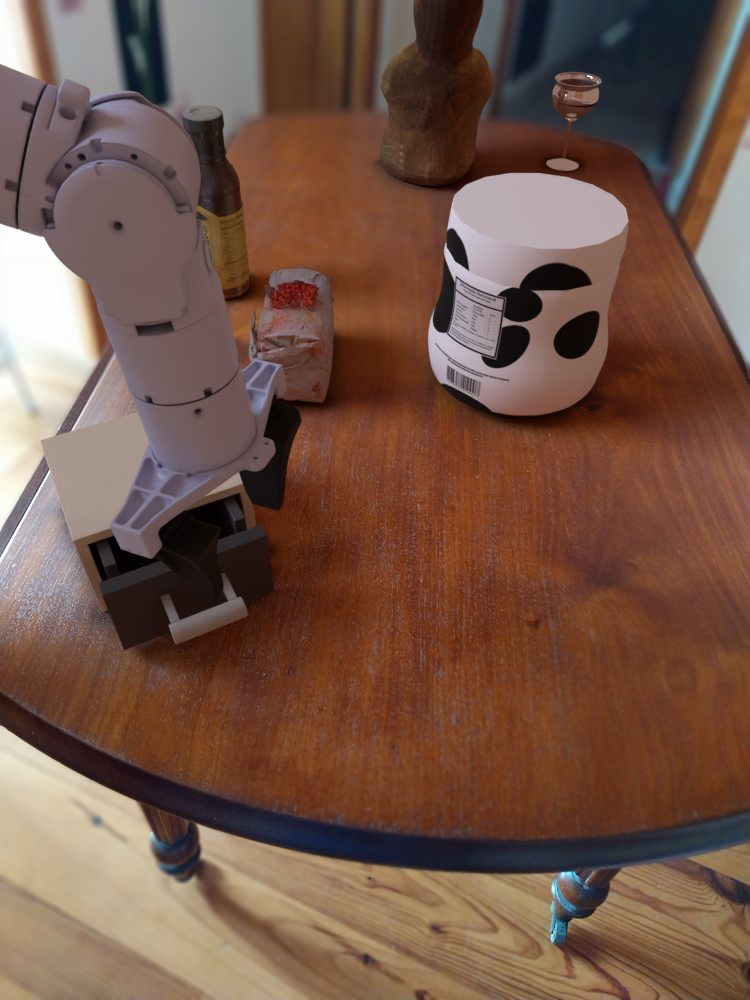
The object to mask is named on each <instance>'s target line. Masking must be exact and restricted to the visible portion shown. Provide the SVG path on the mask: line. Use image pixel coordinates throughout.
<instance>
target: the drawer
mask: <svg viewBox="0 0 750 1000" xmlns="http://www.w3.org/2000/svg"><path fill="white" fill-rule="evenodd" d="M186 512H187V513H189V514H190V513H192V514H193V515H194V518H195V520H197V521H201V522H204V523H207V524H211V525H214V526H217V527H221V531H220V534H219V537H218V543H217V558H218V564H219V568H220V571H221V575H222V579H223V585H224V587H223V592H222V594H221V595H220V597H219V598H218V599H216V600H215V599H212V598H209V597H206V596H203V595H200V594H197V593H194V592H191V591H190V590H189V589H188V587H187V586H186V585H185V584H184V583H183V582H182V580H181V579H180V578H179V577H178V576H177V575H176V574H175V573H174V572H173V571H172V570H171V569H170V568H169V567H167V566H166V565H165V564H164V563H163V562H161V561H160V560H159V559H157V558H156V557H153V558H152V559H150V558H147V557H144V556H140V555H137V554H134V553H131V552H129V551H125V550H122V549H121V548H120V546H119V544H118V542H117V540H116V538H115V536H111V537H108V538H105V539H102V540H99V541H96V542H95V543H96V545H97V548H98V551H99V554H100V557H101V559H102V562H103V565H104V568H105V571H106V573H107V576H108V578H109V579H108V580H105V581H103V582H100V583H98V586H99V588H100V591H101V594H102V597H103V600H104V602H105V604H106V607H107V609H108V611H107V612H108V614H109V617H110V619H111V622H112V624H113V627H114V630H115V631H116V634H117V637H118V639H119V642H120V644H121V646H122V649H123V650H124V651H126V650H130V649H132V648H134V647H137V646H139V645H142V644H144V643H146V642H149V641H152V640H154V639H157V638H160V637H162V636H164V635H167V634H169V633H170V634H171V637H172V640H173V641H174V644H175V645H179V644H181V643H184V642H187V641H189V640H192V639H194V638H197V637H199V636H202V635H205V634H206V633H210V632H212V631H215V630H217V629H220V628H223V627H224V626H227V625H229V624H232V623H234V622H237V621H239V620H241V619H244V618H247V617H248V616H249V611H248V609H247V606H246V604H247V603H248V602H251V601H253V600H256V599H259V598H261V597H264V596H266V595H269V594H271V593H274V592H275V590H276V589H275V583H274V574H273V568H272V560H271V554H270V546H269V545H270V544H269V538H268V537H269V536H268V534H267V532H266V531H265V529H264V527H263V526H262V524H258V525H256V527H253V528H250V529H247V526H246V520H245V517H244V515H243V513H242V511H241V509H240V508H239V506H238V504H237V502H236V500H235V499H234V497H233V495H231V496H228V497H225V498H222V499H219V500H217V501H214V502H211V503H208V504H205V505H202V506H199V507H196V508H193V509H190V510H187V511H186Z"/></svg>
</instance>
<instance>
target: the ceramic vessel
mask: <svg viewBox="0 0 750 1000" xmlns="http://www.w3.org/2000/svg"><path fill="white" fill-rule="evenodd" d="M412 7H413V8H412V9H413V10H412V13H413V15H412V16H413V22H414V23H413V24H414V29H415V40H414V41H413V42H411V43H409V44H407V45H406V46H403V47H401V48H400V49H399V50H398V51H396V52H395V53H394V54H393V55H392V57H390V59H389V61H388V62H387V65H386V67H385V68H384V70H383V73H382V74H381V78H380V90H381V93H382V96H383V98H384V99H385V101H386V104H387V108H388V109H387V110H388V116H387V117H388V118H387V120H386V123H385V127H384V129H383V133H382V138H381V143H380V148H379V149H380V150H379V155H380V156H379V157H380V163H381V165H382V167H383V169H384V171H385V173H387V174H388V175H389V176H392V177H393V178H395V179H398V180H401V181H403V182H407V183H411V184H415V185H420V186H426V187H427V186H428V187H438V186H447V185H451V184H454V183H456V182H457V181H458V182H459V181H460V180H461V179H462V178H463V177H465V176H466V175H467V174H468V173H469V171H470V169H471V166H472V164H473V162H474V160H475V157H476V153H477V138H478V129H479V123H480V118H481V115H482V113H483V110H484V108H485V107H486V105H487V103H488V102H489V101H490V99H491V98H492V97H491V96H492V95H493V92H494V87H495V86H494V85H495V84H494V76H493V72H492V70H491V66H490V64H489V62H488V59H487V58H486V55H485V54H484V53H483V52H482V51H481V50H480V49H479V48H476V47H474V46H473V45H474V38H475V36H476V33H477V30H478V29H479V25H480V22H481V18H482V15H483V10H484V0H413V5H412Z"/></svg>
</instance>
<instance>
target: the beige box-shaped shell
mask: <svg viewBox="0 0 750 1000" xmlns="http://www.w3.org/2000/svg"><path fill="white" fill-rule="evenodd" d="M39 443H40V445H41V448H42V452H43V454H44V457H45V461H46V464H47V467H48V469H49V473H50V475H51V478H52V479H51V480H52V482H53V485H54V488H55V491H56V494H57V497H58V500H59V503H60V504H59V505H60V506H61V510H62V512H63V516H64V519H65V522H66V525H67V527H68V531H69V534H70V537H71V540H72V543H73V545H74V547H75V550H76V552H77V555H78V557H79V560H80V562H81V566H82V567H83V569H84V572H85V575H86V576H87V579H88V582H89V584H90V586H91V589H92V591H93V593H94V596H95V598H96V601H97V603H98V606H99V608H100V610H101V612H102V613H106V612H108V609H107V607H106V604H105V602H104V600H103V597H102V594H101V591H100V588H99V586H98V583H100V582H103V581H105V580H108V579H109V578H108V576H107V573H106V571H105V568H104V565H103V562H102V559H101V557H100V554H99V551H98V548H97V545H96V543H95V542H96V541H99V540H102V539H105V538H108V537H111V536H114V534H113V532H112V530H111V528H110V526H109V524H110V523H111V521H112V520H113V519H114V518H115V516H116V515H117V514H118V512H119V511H120V509H121V508H122V506H123V504H124V502H125V500H126V498H127V496H128V493H129V491H130V488H131V486H132V483H133V481H134V478H135V476H136V473H137V471H138V468H139V466H140V463H141V461H142V458H143V456H144V453H145V451H146V448H147V446H148V443H149V441H148V438H147V436H146V433H145V430H144V428H143V425H142V423H141V420H140V418H139V415H138V412H137V411H135V412H133V413H130V414H126V415H123V416H119V417H115V418H112V419H109V420H106V421H103V422H98V423H96V424H91V425H89V426H85V427H81V428H78V429H75V430H74V429H73V430H70V431H67V432H64V433H61V434H57V435H54V436H50V437H47V438H43V439H40V440H39ZM231 495H233V497H234V499H235V500H236V502H237V504H238V506H239V508H240V509H241V511H242V513H243V515H244V517H245V520H246V526H247V529H250V528H253V527H256V526H257V524H256V523H257V522H256V517H255V510H254V504H252V502H251V501H250V499H249V497H248V495H247V493H246V491H245V488H244V486H243V483H242V480H241V477H240V474H239V472H238V473H237V474H236V475H234V476H233V477H231V478H230V479H228V480H227V481H226V482H224V483H223V484H221V485H220V486H218V487H217V488H216V489H214V490H213V491H211V492H210V493H208V494H207V495H205V496H204V497H203V498H201V499H200V500H198V501H197V502H195V503H194V504H193V505H191V506H190V507H188V508H187V509H185V510H186V511H187V510H190V509H193V508H196V507H199V506H202V505H205V504H208V503H211V502H214V501H217V500H219V499H222V498H225V497H228V496H231Z"/></svg>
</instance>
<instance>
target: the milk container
mask: <svg viewBox="0 0 750 1000" xmlns="http://www.w3.org/2000/svg"><path fill="white" fill-rule="evenodd" d="M629 222H630V221H629V217H628V211H627V208H626V206H625V205H623V203H622V202H620V201H619V199H618V198H616V196H614V195H613V194H612V193H610V192H608V191H606V190H604V189H602V188H600V187H598V186H596V185H594V184H592V183H588V182H586V181H582V180H579V179H576V178H572V177H568V176H562V175H555V174H549V173H541V172H508V173H502V174H495V175H489V176H485V177H482V178H479V179H476V180H474V181H472V182H469V183H467V184H465V185H464V186H463V187H461V188H460V190H458V191H457V192H456V193H455V194H454V195H453V199H452V202H451V207H450V212H449V216H448V223H447V230H446V238H445V240H446V241H445V244H444V249H443V264H442V265H443V268H442V281H441V282H442V283H441V288H440V292H439V295H438V297H437V300H436V303H435V306H434V309H433V311H432V314H431V317H430V319H429V320H430V321H429V326H428V333H427V345H428V346H427V347H428V355H429V362H430V366H431V369H432V372H433V374H434V376H435V379H436V380H437V381H438V383H439V384H440V386H441V387H442V388H443V389H444V390H445V391H446V392H447V393H448V394H450V395H451V396H452V397H453V398H455V399H456V400H457V401H459V402H461V403H463V404H465V405H467V406H470V407H472V408H473V409H476V410H479V411H481V412H483V413H488V414H492V415H493V414H494V415H497V416H503V417H507V418H538V417H543V416H549V415H553V414H556V413H559V412H562V411H565V410H567V409H570V408H571V407H572V406H574V405H575V404H577V403H579V402H580V401H581V400H582V399H583V398H585V397H586V396H587V394H589V392H591V390H592V388H593V387H594V386H595V384H596V381H597V380H598V377H599V376H600V374H601V371H602V369H603V367H604V365H605V361H606V358H607V353H608V348H609V347H608V346H609V324H608V319H609V318H608V316H609V307H610V303H611V299H612V296H613V291H614V288H615V286H616V282H617V279H618V276H619V272H620V266H621V261H622V259H623V256H624V253H625V250H626V247H627V240H628V233H629Z"/></svg>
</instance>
